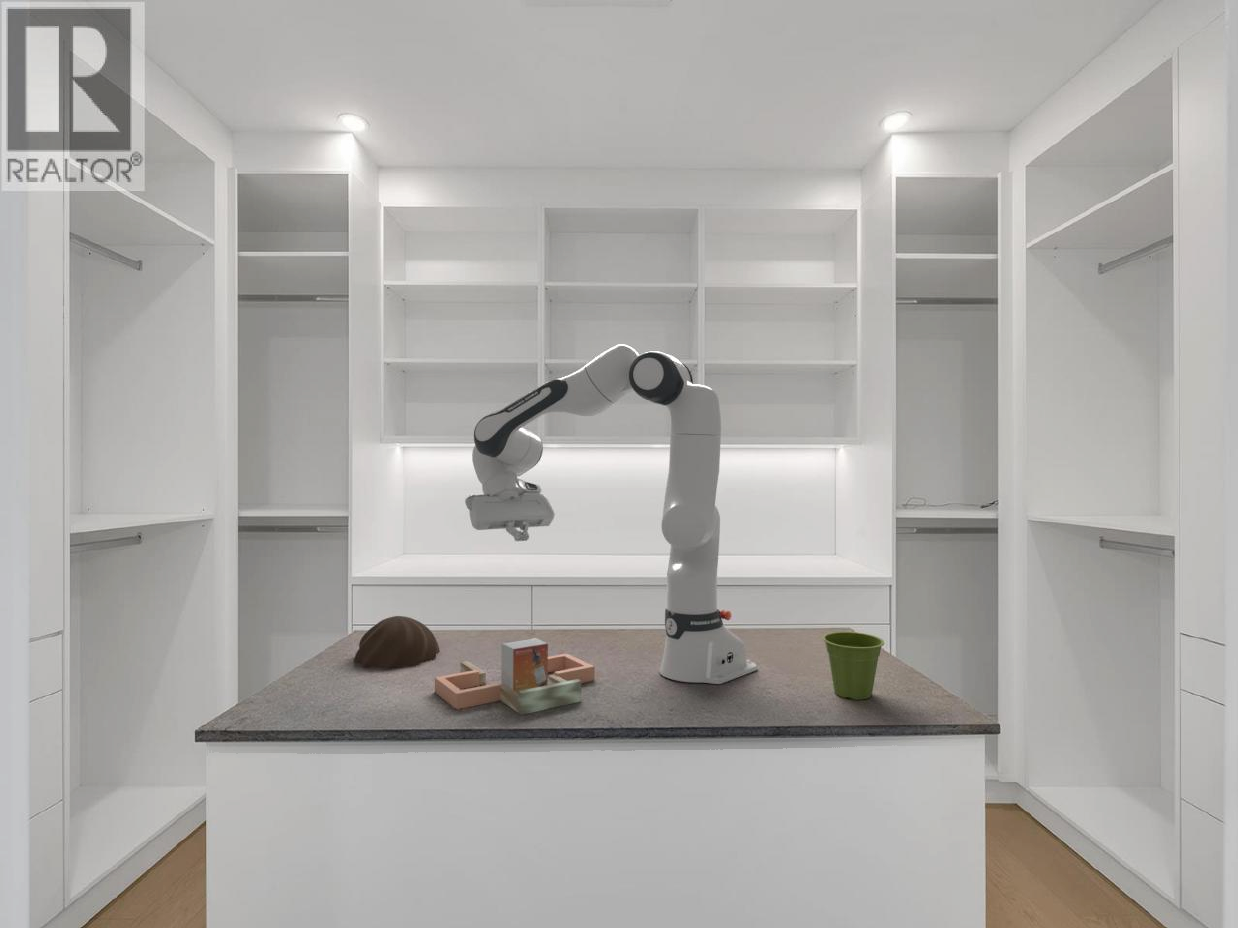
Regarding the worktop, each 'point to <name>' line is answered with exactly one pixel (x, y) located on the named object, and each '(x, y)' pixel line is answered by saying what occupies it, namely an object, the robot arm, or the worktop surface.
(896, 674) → the worktop surface
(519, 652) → the small box
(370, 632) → the decorative dome
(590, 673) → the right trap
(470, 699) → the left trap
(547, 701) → the trap lane
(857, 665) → the plant pot
